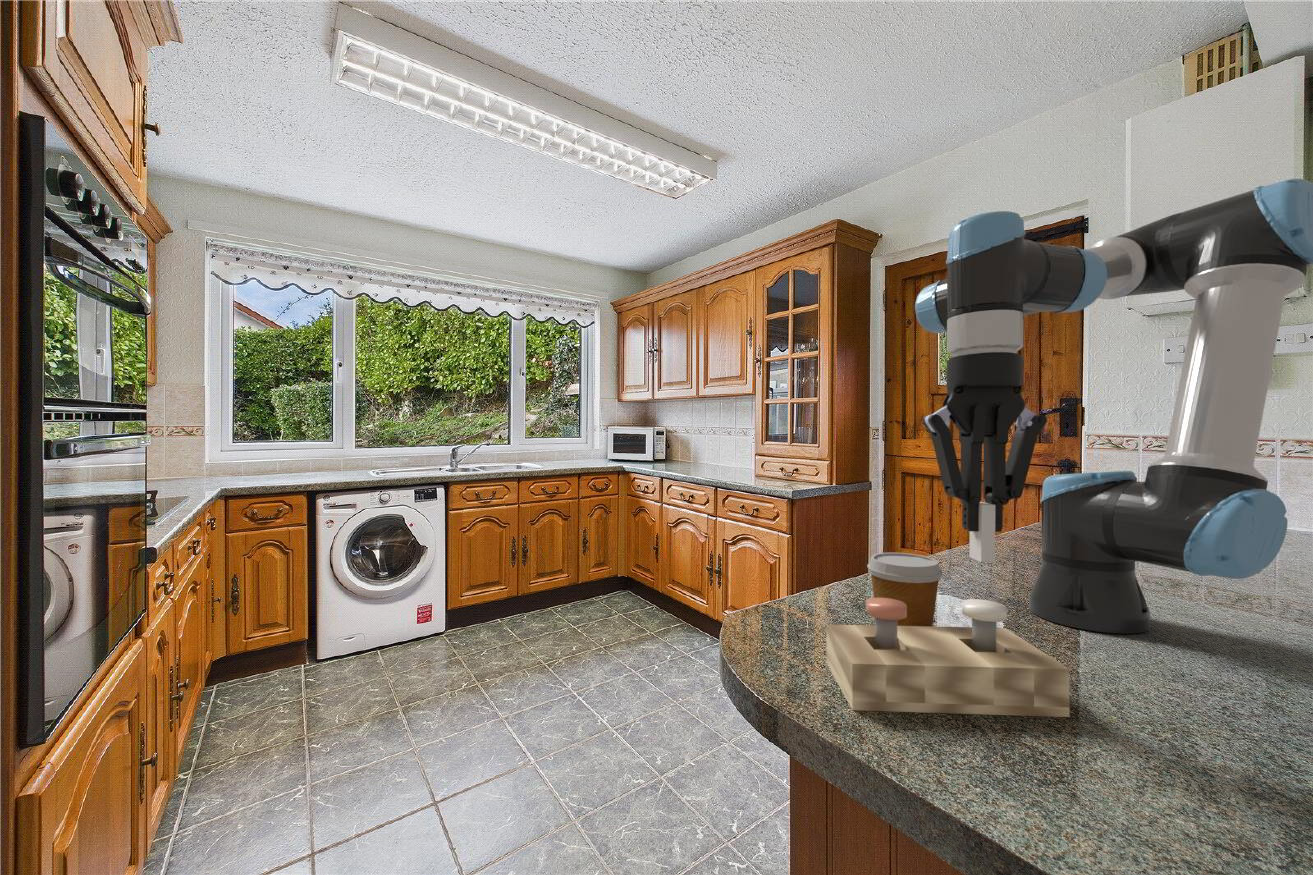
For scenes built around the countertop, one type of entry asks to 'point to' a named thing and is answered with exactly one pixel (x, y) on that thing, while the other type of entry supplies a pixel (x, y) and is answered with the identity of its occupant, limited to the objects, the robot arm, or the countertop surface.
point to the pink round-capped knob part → (886, 619)
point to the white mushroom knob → (984, 621)
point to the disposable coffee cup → (907, 584)
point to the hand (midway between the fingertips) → (981, 559)
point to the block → (945, 673)
